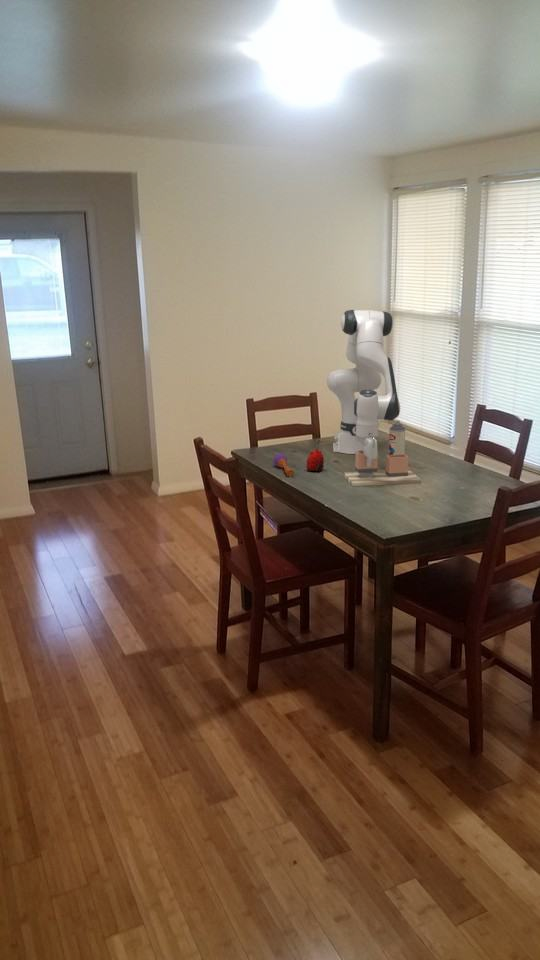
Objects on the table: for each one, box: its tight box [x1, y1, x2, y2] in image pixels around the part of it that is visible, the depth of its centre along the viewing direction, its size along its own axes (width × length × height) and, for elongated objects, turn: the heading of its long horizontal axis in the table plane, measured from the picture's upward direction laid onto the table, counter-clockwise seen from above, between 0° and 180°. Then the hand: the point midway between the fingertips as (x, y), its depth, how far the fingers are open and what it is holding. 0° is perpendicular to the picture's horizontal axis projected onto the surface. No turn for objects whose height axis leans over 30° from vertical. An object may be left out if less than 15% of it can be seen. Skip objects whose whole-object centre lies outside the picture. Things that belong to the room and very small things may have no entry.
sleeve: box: [354, 451, 379, 473], centre depth 300 cm, size 8×5×8 cm, turn 98°
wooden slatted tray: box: [343, 468, 422, 487], centre depth 303 cm, size 16×28×6 cm, turn 97°
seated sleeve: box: [385, 453, 410, 477], centre depth 303 cm, size 8×5×8 cm, turn 97°
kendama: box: [273, 453, 295, 477], centre depth 318 cm, size 6×6×20 cm
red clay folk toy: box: [306, 438, 325, 473], centre depth 316 cm, size 8×7×15 cm
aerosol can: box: [388, 420, 406, 455], centre depth 320 cm, size 7×7×20 cm
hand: (366, 464), depth 301 cm, fingers closed on sleeve, 5 cm apart
